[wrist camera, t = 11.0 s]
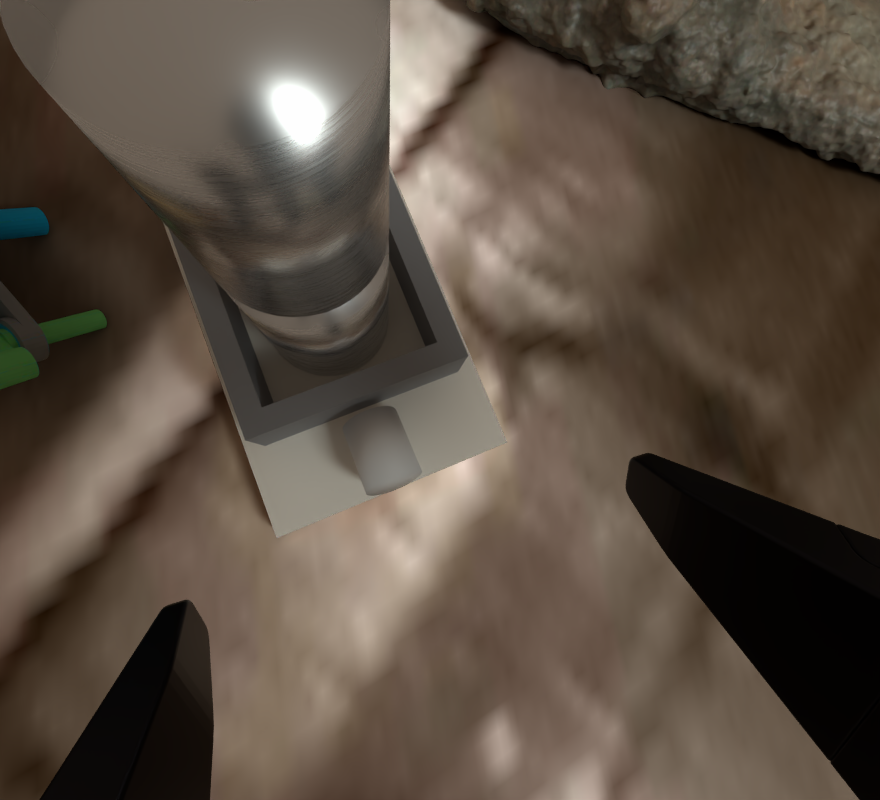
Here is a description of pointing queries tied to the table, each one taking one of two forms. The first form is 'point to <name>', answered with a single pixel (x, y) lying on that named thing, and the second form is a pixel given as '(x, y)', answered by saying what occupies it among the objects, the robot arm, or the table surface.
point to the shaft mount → (350, 393)
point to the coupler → (244, 146)
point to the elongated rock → (729, 60)
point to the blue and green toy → (13, 329)
